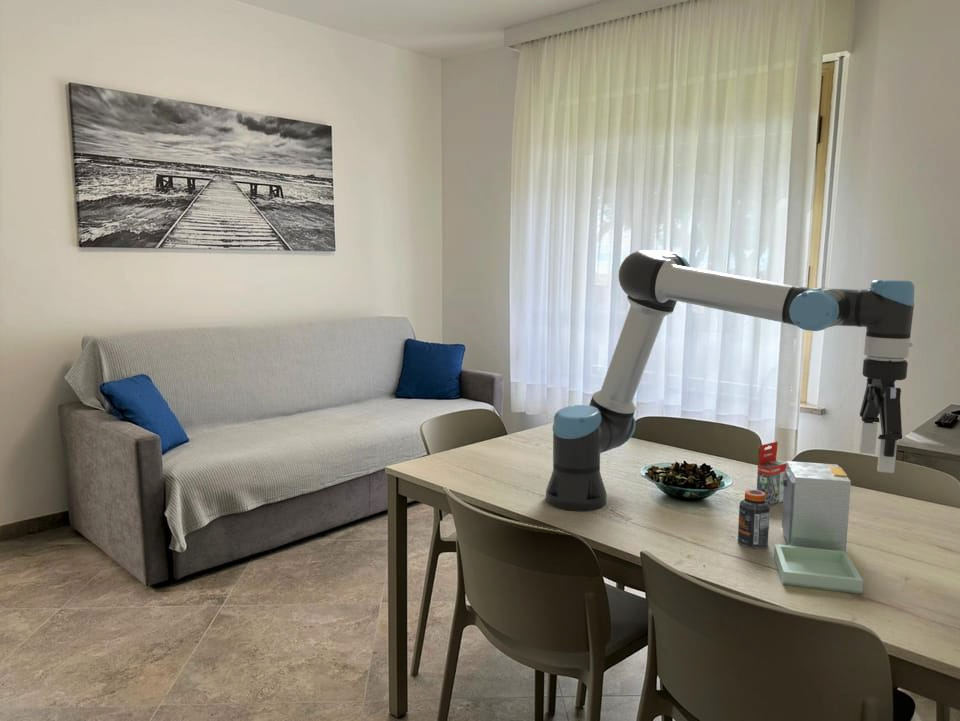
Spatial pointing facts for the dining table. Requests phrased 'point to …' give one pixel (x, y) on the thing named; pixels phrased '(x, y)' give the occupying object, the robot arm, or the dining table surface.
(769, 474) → the ink box
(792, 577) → the tray
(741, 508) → the pill bottle
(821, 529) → the unit
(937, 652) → the dining table surface
